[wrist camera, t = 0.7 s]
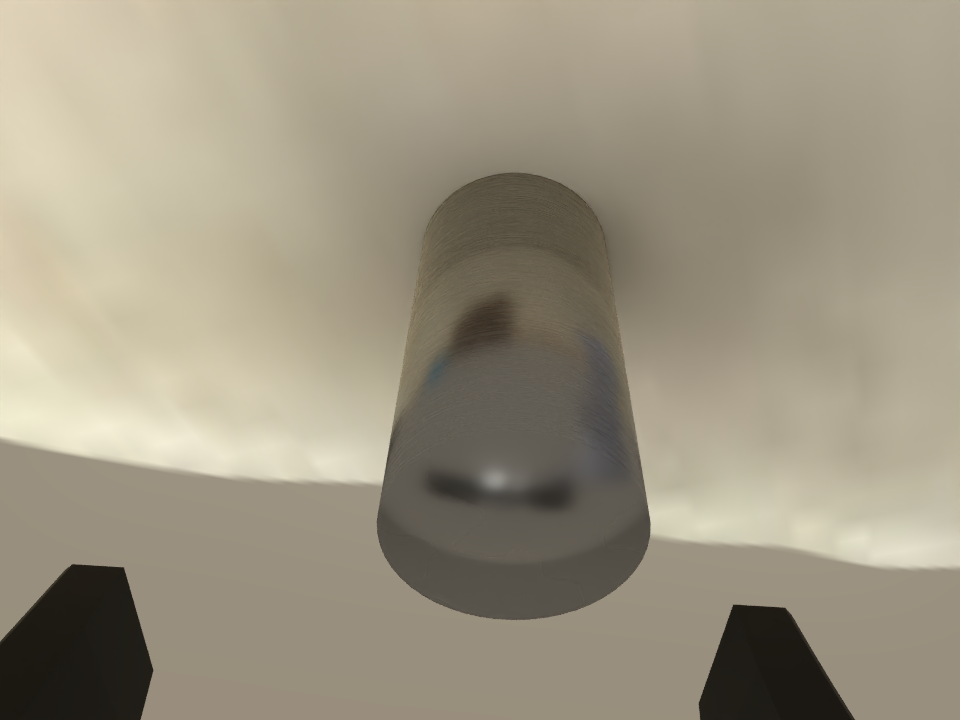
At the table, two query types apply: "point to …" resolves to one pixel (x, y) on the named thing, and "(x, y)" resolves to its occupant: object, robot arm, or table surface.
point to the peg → (513, 412)
